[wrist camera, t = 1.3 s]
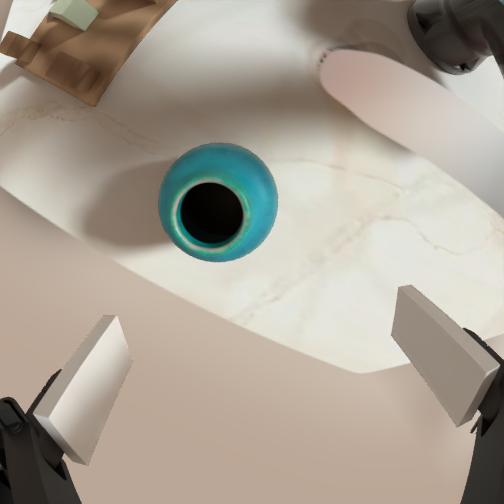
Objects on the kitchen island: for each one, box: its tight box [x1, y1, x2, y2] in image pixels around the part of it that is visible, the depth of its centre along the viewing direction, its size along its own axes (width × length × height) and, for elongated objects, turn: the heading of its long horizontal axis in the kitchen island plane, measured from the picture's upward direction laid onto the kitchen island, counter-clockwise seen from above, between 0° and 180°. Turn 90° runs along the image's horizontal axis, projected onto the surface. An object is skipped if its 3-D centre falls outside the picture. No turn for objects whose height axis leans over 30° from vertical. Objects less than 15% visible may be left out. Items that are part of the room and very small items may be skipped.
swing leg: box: [49, 0, 99, 31], centre depth 20 cm, size 4×11×7 cm, turn 55°
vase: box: [158, 143, 278, 262], centre depth 27 cm, size 11×11×19 cm
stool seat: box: [0, 0, 178, 107], centre depth 22 cm, size 22×22×9 cm
